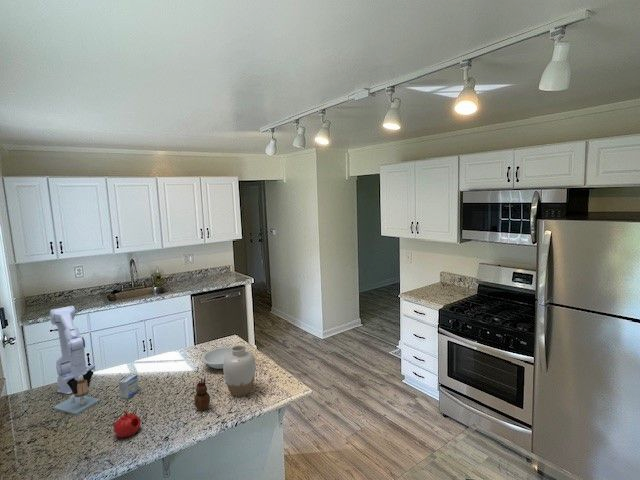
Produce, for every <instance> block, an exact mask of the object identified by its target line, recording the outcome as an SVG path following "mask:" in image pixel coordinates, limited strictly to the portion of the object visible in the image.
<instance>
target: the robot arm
mask: <svg viewBox="0 0 640 480" xmlns="http://www.w3.org/2000/svg"><path fill="white" fill-rule="evenodd" d="M49 317H50V323H51V325H52V326H56V327H57V332H58V338H59V339H58V340H59V344H60V351H61V356H60V357H59V358H58V359H57V360H56V363H55V364H56V366H55V367H56V368H55V369H56V374H57V388H58V390H56V392H57V393H59V394H61V393H62V394H65V395H74V394H77V382H78V381H79V380H80V376H82V378H83V379H86V380H87V382H88V388H90V384H91V380H92V378H93V376H94V370H96V365H95V364H91V365H88V366H87V364H86V363H87V362H86V355H85V349H86V340H85V337H84V336H83V335H82V334H81V333H80V330H79V328H78V327H77V326H75V325H74V322H73V321H74V319H75V317H76V309H75V306H73V305H68V306H64V307H60V308H54V309H53V308H52V309H50V310H49ZM83 379H82V380H83Z"/></svg>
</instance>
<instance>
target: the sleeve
mask: <svg viewBox="0 0 640 480" xmlns="http://www.w3.org/2000/svg"><path fill="white" fill-rule="evenodd" d="M89 393H90V389H89V387H88V382H87V380H86V379H79V381H78V382H77V394H73V395H75V397H77V398H78V397H83V396H88V394H89Z"/></svg>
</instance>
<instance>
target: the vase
mask: <svg viewBox="0 0 640 480" xmlns="http://www.w3.org/2000/svg"><path fill="white" fill-rule="evenodd" d="M246 349H247V346H246V345H243V344H242V345H241V344H240V345H234V347H232V349H231V351H232V353H230V354H229V355H227V356H226V358H225V360H224V363H223V369H222V370H223V376H224V377H223V378H224V380H225V384H226V386H227V389H228V390H229V392H230V394H231V396H233V397H236V396H237V398H238V397H245V396H247V395H249V394H250V393H251V391H252V389H253V385H254V382H255V377H256V370H257V365H256V363H257V362H256V359H255V356H254V354H253V353H252V352H250V351H247V350H246Z"/></svg>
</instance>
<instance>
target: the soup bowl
mask: <svg viewBox="0 0 640 480" xmlns="http://www.w3.org/2000/svg"><path fill="white" fill-rule="evenodd" d="M234 346H235V345H234ZM234 346H232V345H231V346H220V347H216V348H212V349H210V350H207V351H206V352H205V353H203V355H202V356H201V361H202V362H203V363H204V364H206V365H208V367H210V368H212V369H215V370H216V369H217V370H218V369H219V370H220V369H221V370H223V363H224V360H225V358H226V356H227V355H229V354H230V353H232V351H231V349H232V347H234Z"/></svg>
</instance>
